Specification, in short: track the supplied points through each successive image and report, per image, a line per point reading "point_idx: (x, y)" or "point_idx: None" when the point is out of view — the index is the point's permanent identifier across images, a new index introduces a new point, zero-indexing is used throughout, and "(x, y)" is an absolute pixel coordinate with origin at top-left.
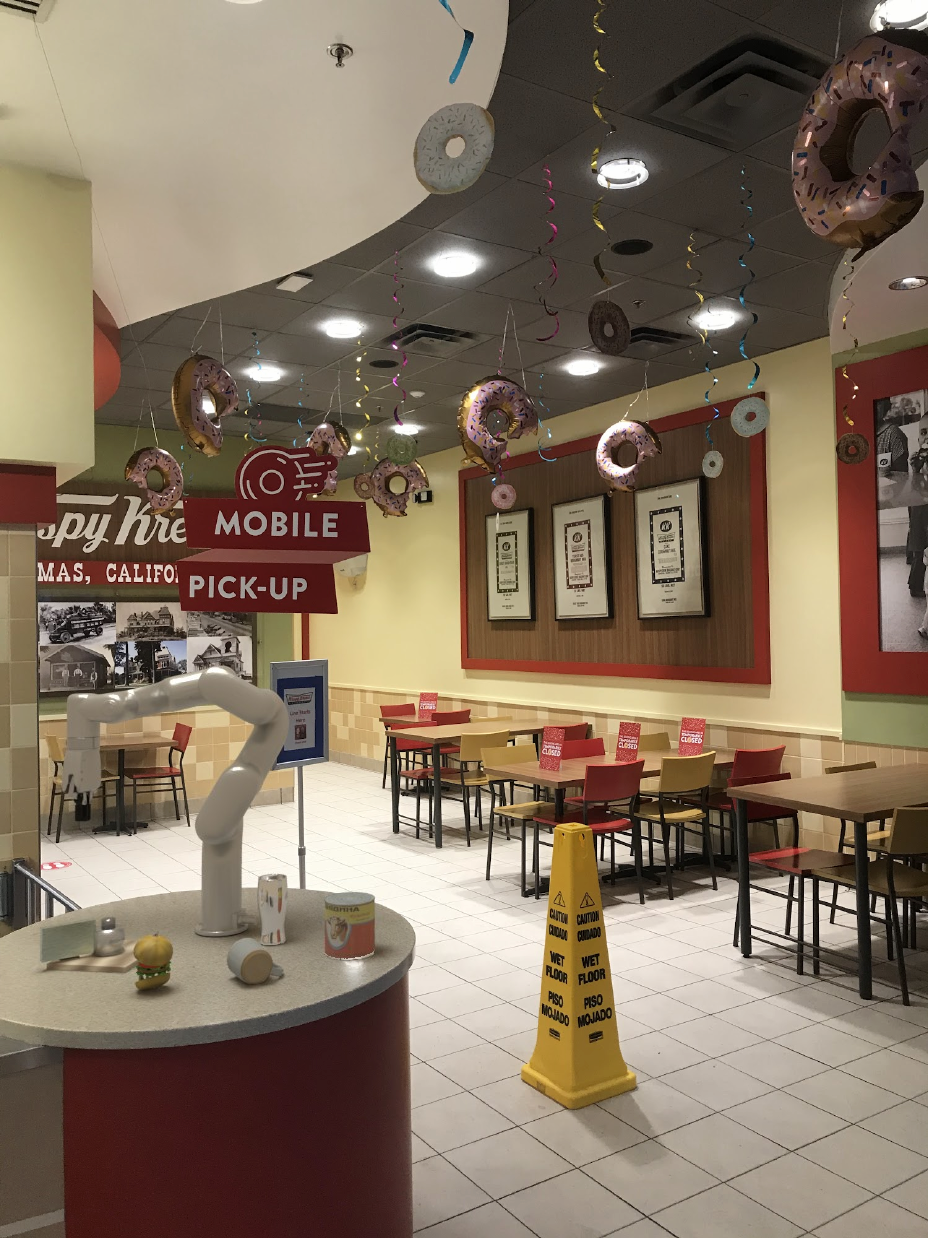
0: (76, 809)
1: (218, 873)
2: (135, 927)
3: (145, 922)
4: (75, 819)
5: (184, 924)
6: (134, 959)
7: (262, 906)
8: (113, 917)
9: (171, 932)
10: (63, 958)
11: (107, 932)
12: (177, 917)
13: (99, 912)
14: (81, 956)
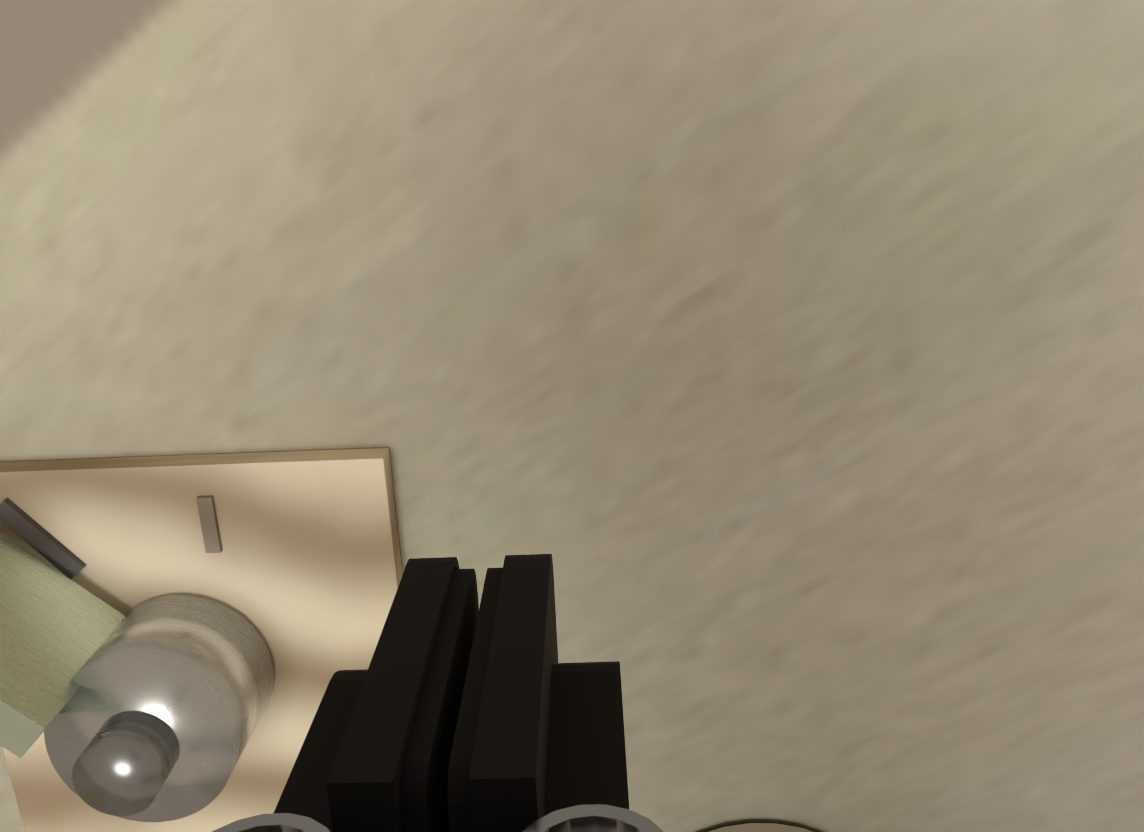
0: (285, 786)
1: None
2: (750, 497)
3: (860, 499)
4: (407, 578)
5: (838, 721)
6: (137, 829)
7: None
8: (151, 793)
9: (680, 726)
10: (7, 525)
11: (65, 782)
12: (981, 623)
13: (1094, 53)
14: (90, 577)
